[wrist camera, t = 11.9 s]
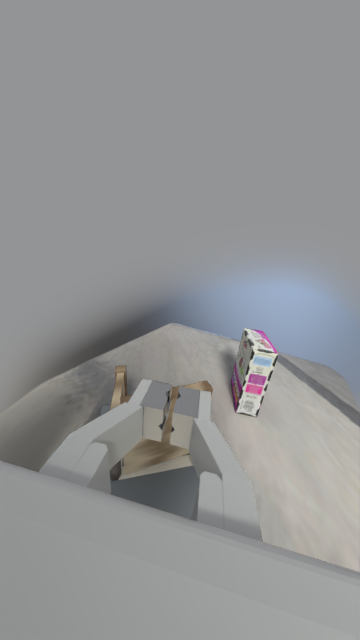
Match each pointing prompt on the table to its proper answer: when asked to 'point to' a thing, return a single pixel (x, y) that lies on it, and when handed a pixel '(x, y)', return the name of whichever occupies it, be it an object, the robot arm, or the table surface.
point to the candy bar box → (252, 371)
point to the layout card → (160, 484)
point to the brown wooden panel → (158, 451)
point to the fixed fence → (119, 391)
